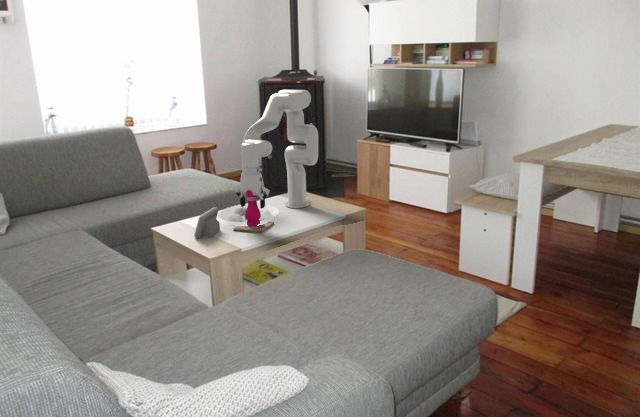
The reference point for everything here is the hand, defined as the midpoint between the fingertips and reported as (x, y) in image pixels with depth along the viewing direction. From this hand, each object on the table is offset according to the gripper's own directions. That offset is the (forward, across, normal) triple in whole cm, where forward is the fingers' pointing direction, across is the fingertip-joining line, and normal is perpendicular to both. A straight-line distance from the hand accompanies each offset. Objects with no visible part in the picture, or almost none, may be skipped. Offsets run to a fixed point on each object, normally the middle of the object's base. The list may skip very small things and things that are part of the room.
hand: (252, 207), depth 245 cm
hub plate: (+10, 0, 0) cm, 10 cm away
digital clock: (+10, +17, +13) cm, 24 cm away
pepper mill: (+9, 0, 0) cm, 9 cm away
